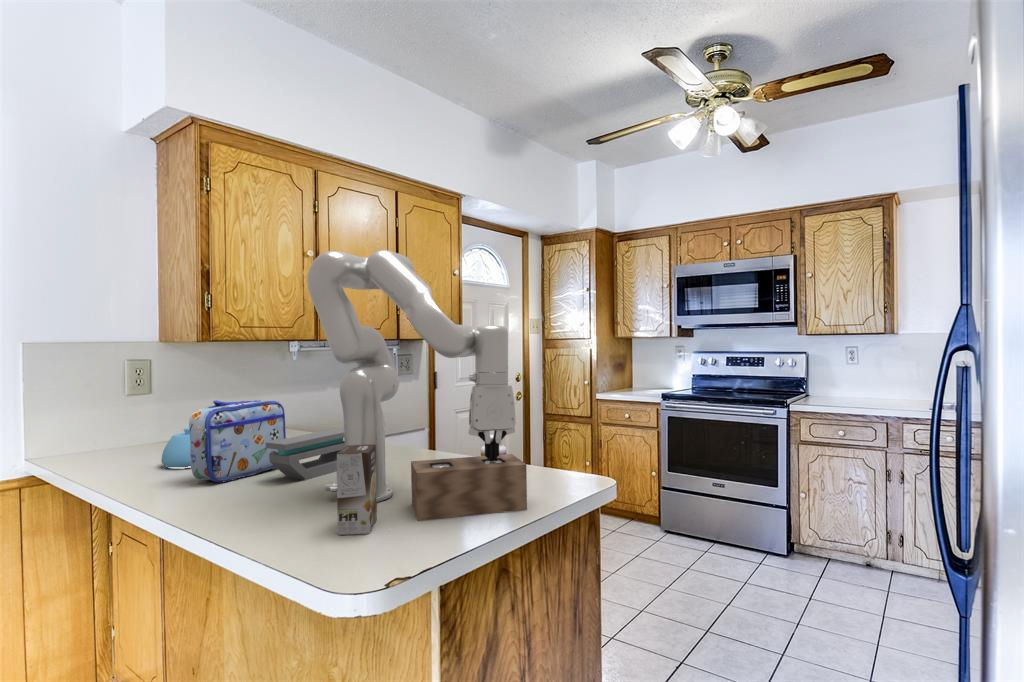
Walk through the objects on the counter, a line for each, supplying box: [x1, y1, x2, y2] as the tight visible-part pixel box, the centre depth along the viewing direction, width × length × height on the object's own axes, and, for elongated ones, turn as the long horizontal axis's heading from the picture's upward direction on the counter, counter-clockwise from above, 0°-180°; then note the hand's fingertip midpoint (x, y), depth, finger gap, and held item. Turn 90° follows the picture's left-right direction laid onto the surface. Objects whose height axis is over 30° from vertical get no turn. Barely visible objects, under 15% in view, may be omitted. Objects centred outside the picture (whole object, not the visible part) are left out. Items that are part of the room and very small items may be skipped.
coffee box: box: [336, 444, 378, 536], centre depth 114 cm, size 9×6×16 cm
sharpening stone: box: [266, 428, 344, 481], centre depth 161 cm, size 25×8×11 cm, turn 152°
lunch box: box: [188, 399, 287, 483], centre depth 160 cm, size 28×10×22 cm, turn 154°
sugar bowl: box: [161, 427, 191, 467], centre depth 175 cm, size 15×15×12 cm
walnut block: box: [410, 453, 528, 522], centre depth 126 cm, size 24×12×10 cm, turn 106°
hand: (491, 459), depth 128 cm, fingers closed
